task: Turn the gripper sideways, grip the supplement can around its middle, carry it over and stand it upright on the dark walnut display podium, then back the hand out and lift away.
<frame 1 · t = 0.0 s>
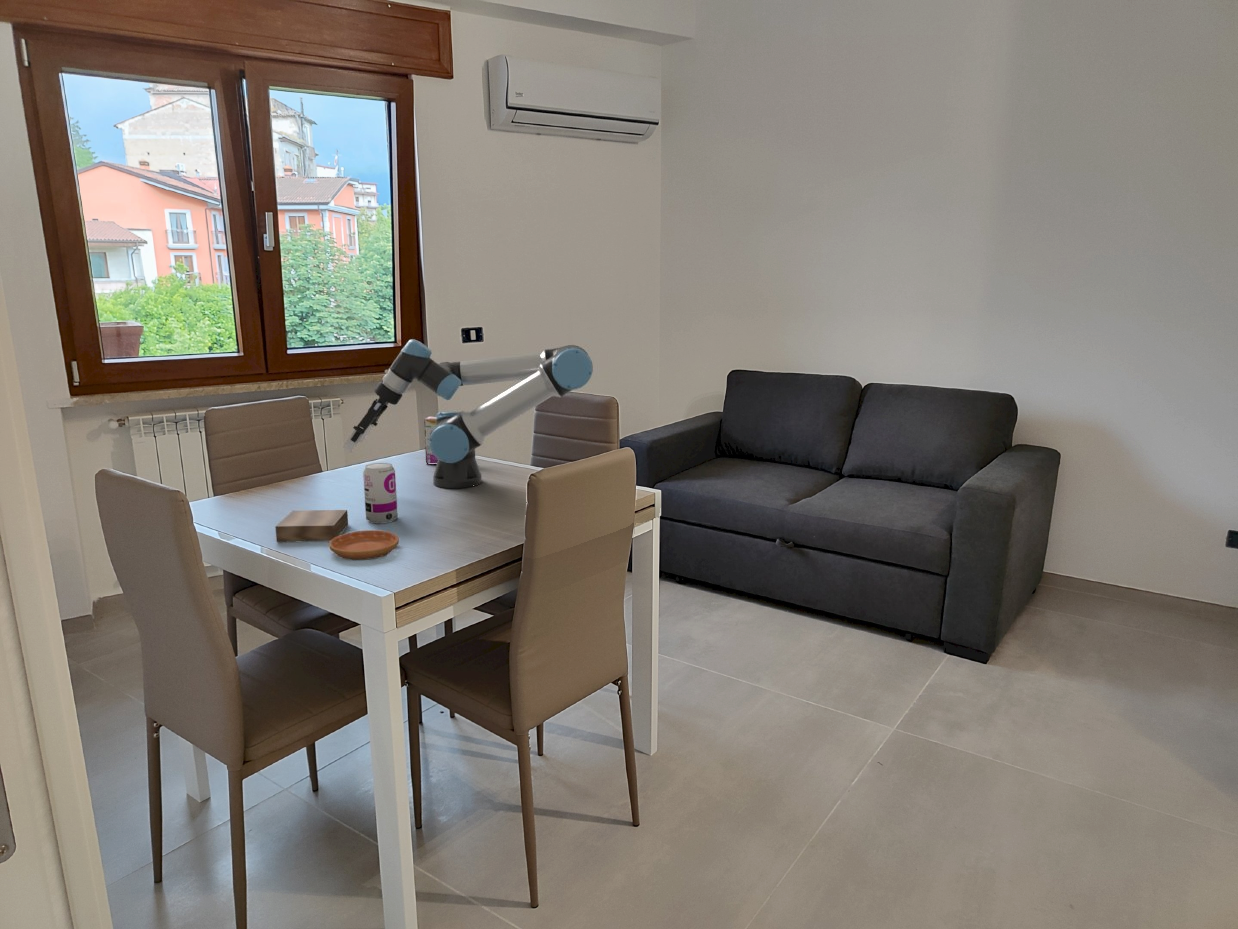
hand: (352, 445, 243), 15 cm above the table, tool tilted 35°, fingers open, 13 cm apart
candy bar box: (443, 464, 289), on the table
supplement can: (382, 520, 222), on the table
saucer: (365, 552, 197), on the table
podium: (313, 532, 210), on the table
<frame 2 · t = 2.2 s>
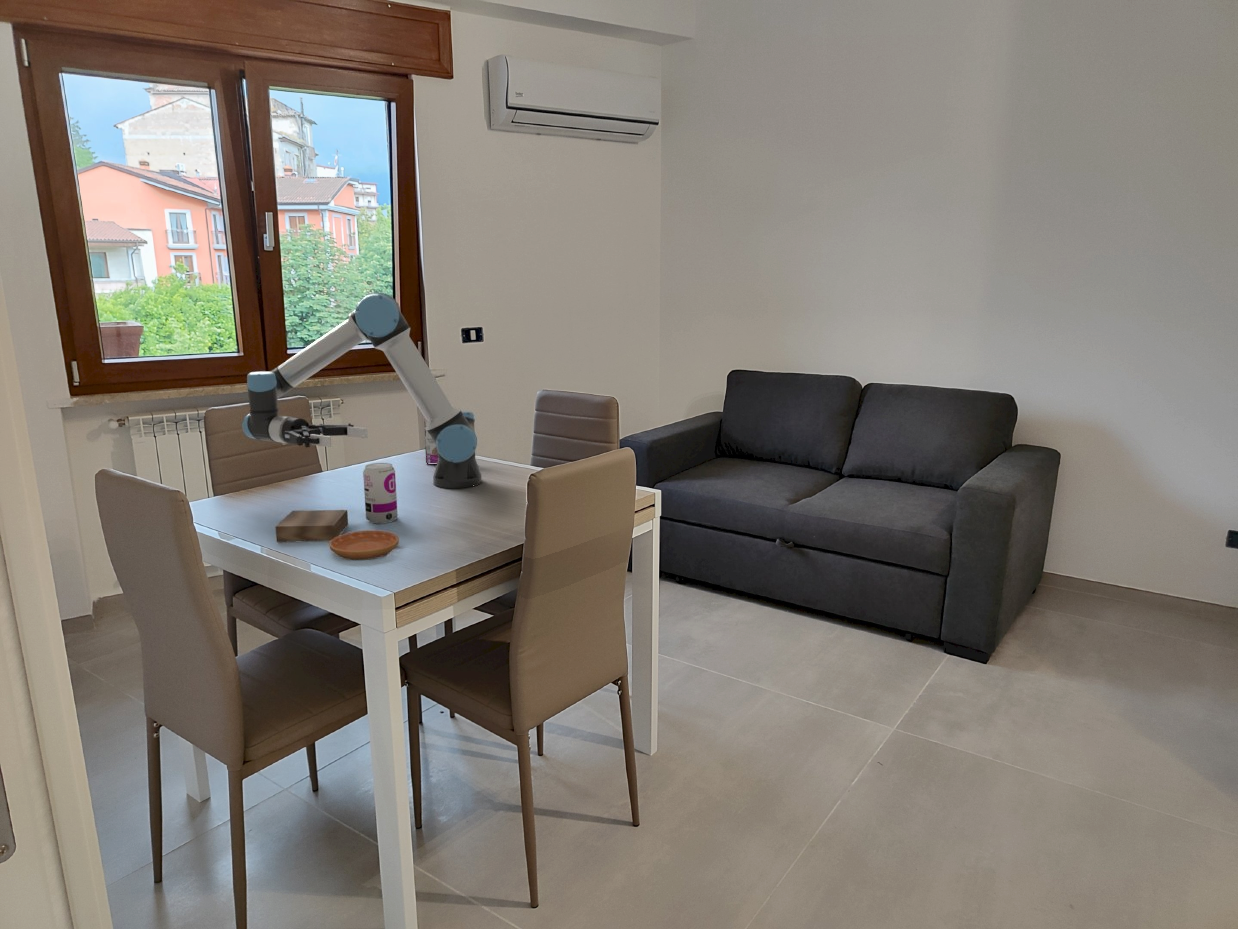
hand: (348, 437, 221), 22 cm above the table, tool horizontal, fingers open, 13 cm apart
nothing on the table moved.
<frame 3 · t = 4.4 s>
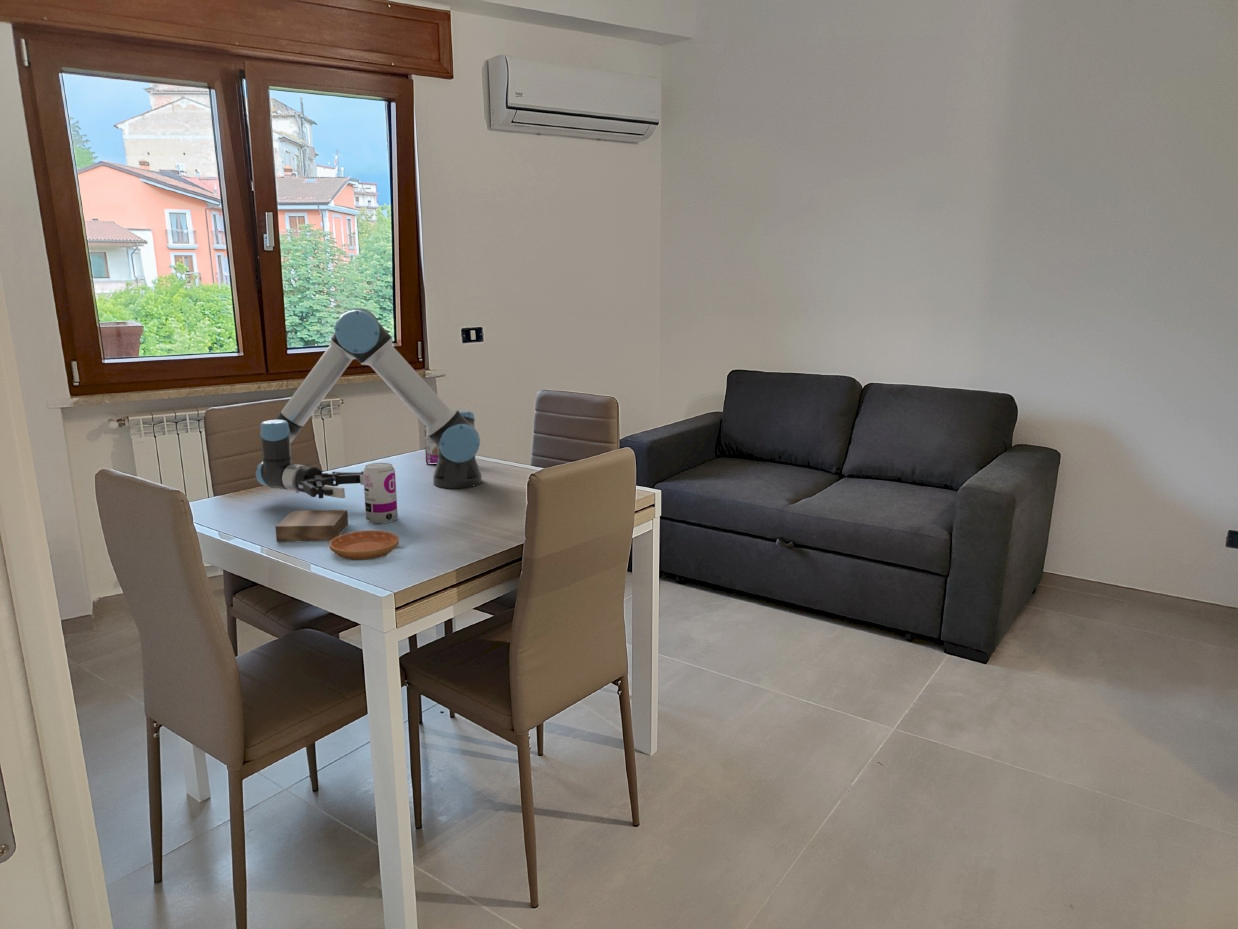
hand: (362, 487, 222), 8 cm above the table, tool horizontal, fingers open, 13 cm apart
nothing on the table moved.
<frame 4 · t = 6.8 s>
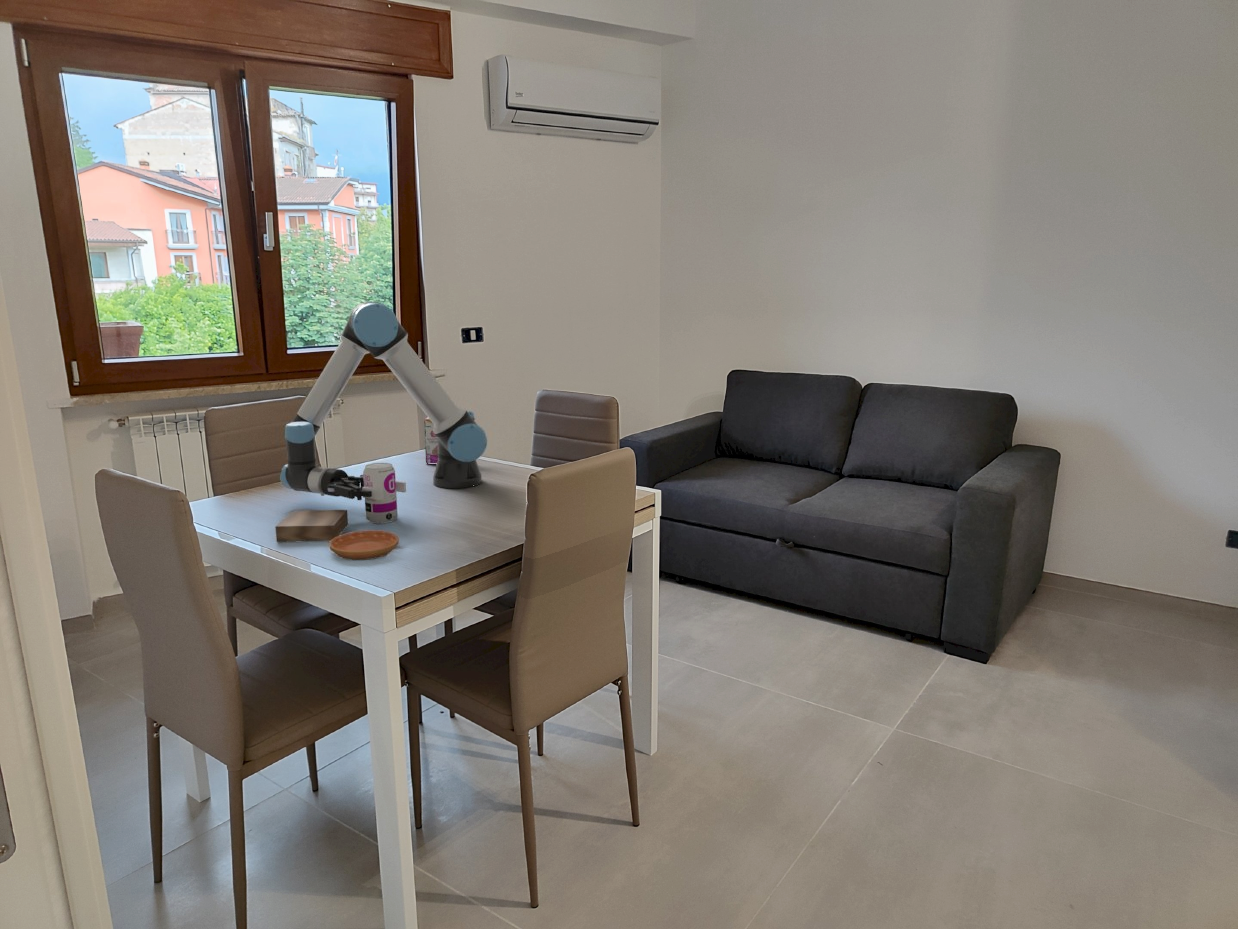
hand: (394, 491, 218), 9 cm above the table, tool horizontal, fingers closed on supplement can, 8 cm apart
supplement can: (381, 520, 222), on the table, touching gripper
everything else where it was.
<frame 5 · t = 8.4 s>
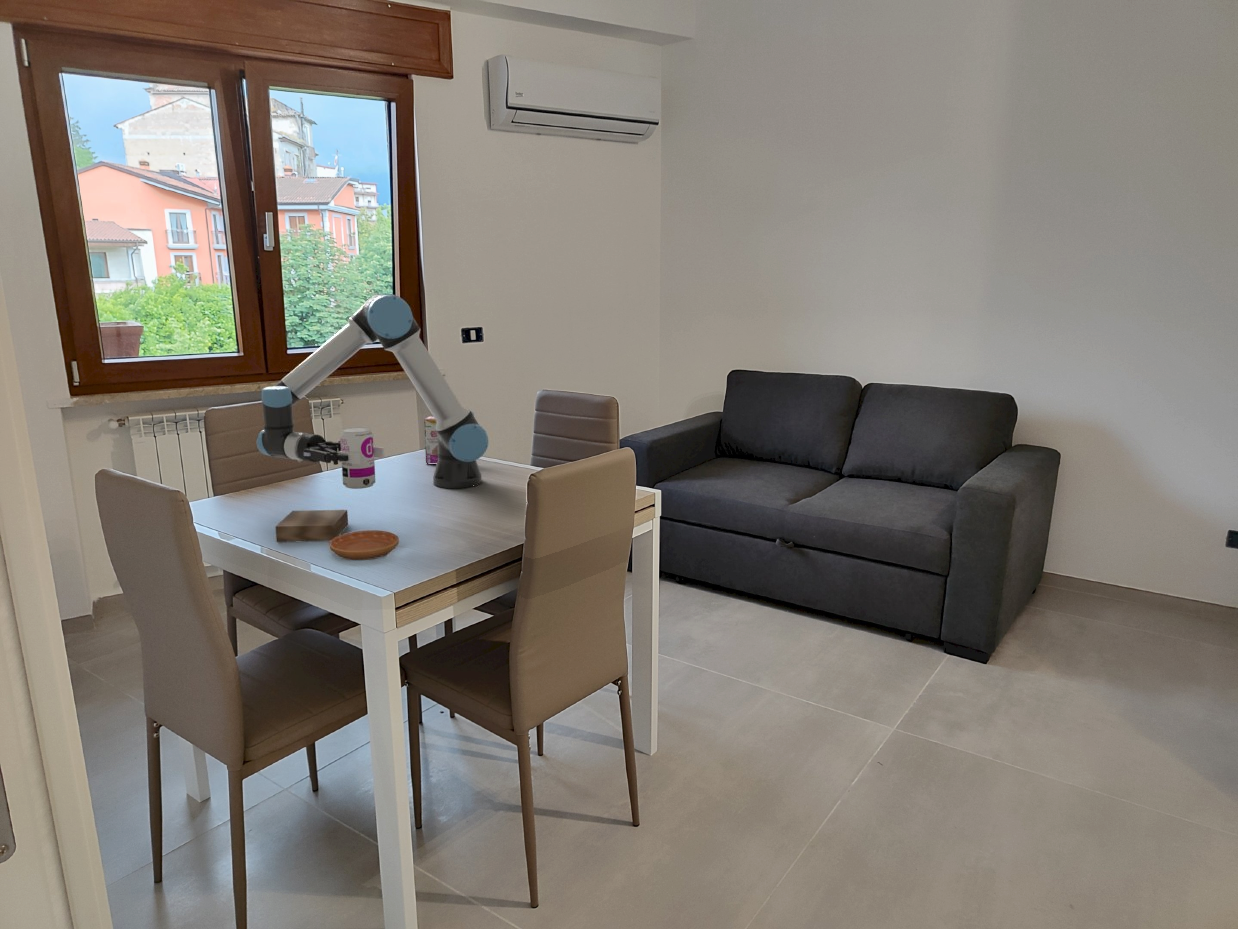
hand: (371, 455, 213), 19 cm above the table, tool horizontal, fingers closed on supplement can, 8 cm apart
supplement can: (359, 486, 217), point 10 cm above the table, touching gripper
everything else where it was.
when the fingers open (14 cm above the table, at t = 10.5 s): supplement can drops 1 cm, resting on podium.
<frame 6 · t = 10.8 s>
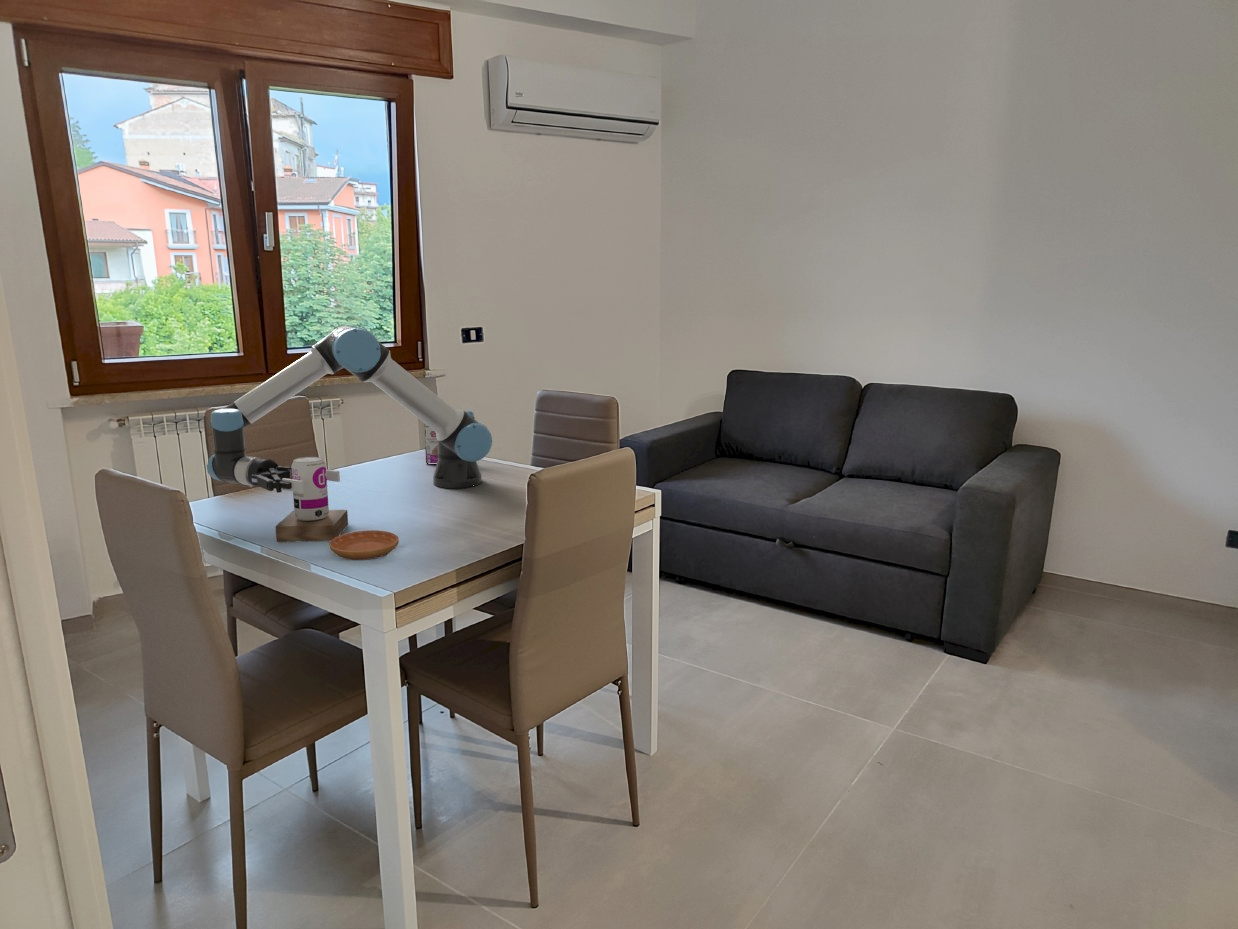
hand: (321, 481, 205), 14 cm above the table, tool horizontal, fingers open, 11 cm apart
supplement can: (312, 518, 209), point 4 cm above the table, touching podium
everything else where it was.
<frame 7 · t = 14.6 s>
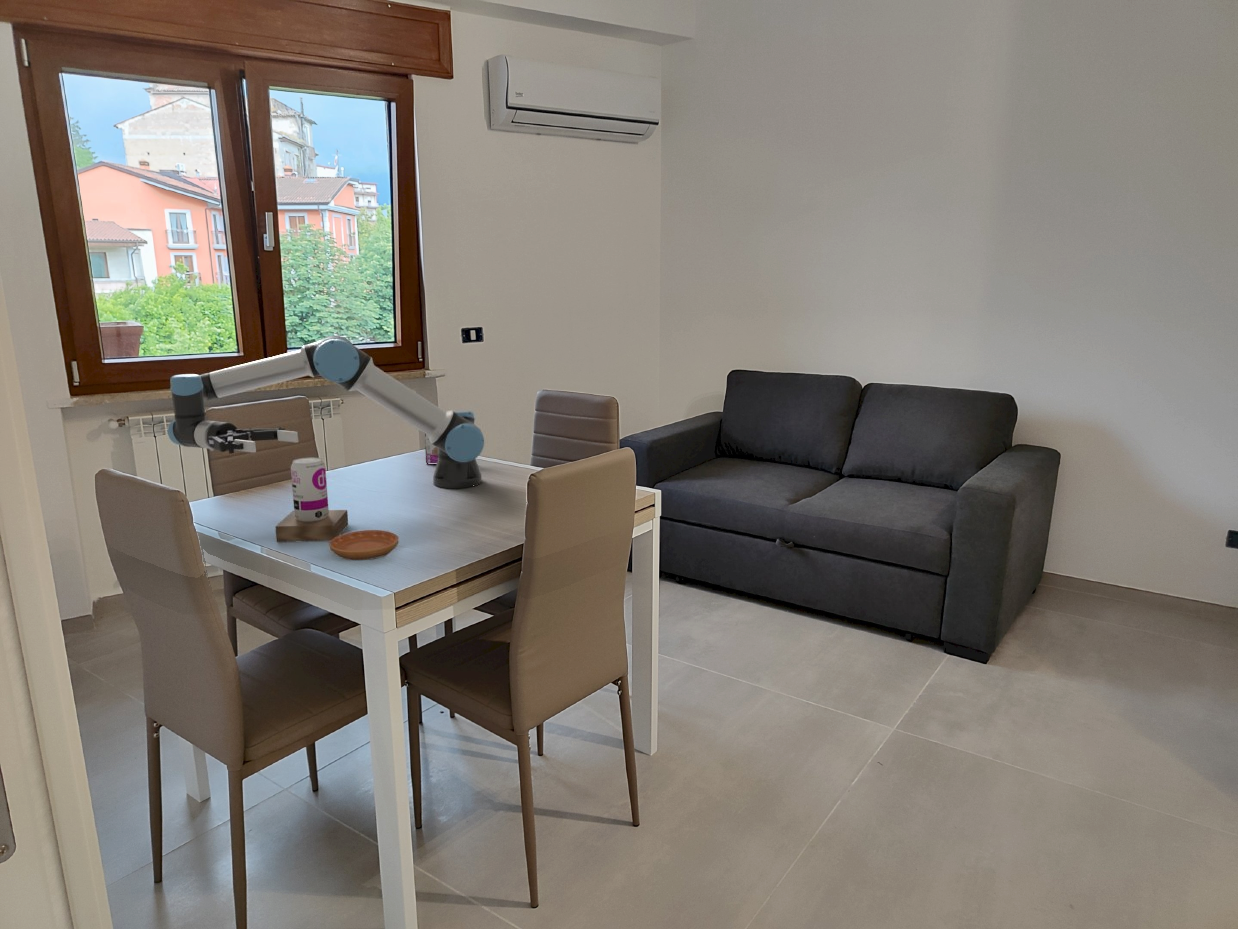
hand: (276, 441, 209), 23 cm above the table, tool horizontal, fingers open, 13 cm apart
nothing on the table moved.
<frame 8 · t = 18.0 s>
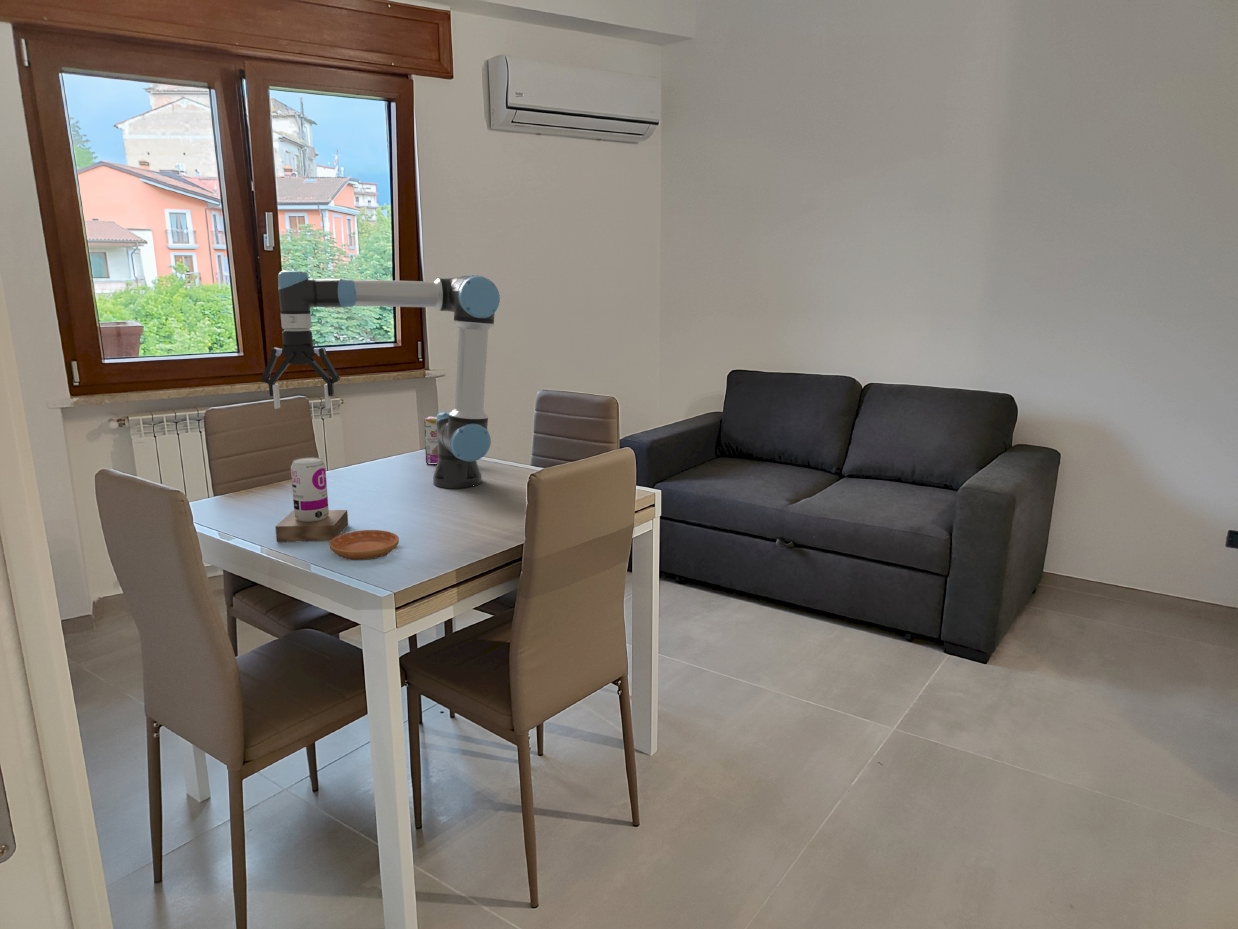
hand: (303, 408, 225), 29 cm above the table, tool pointing down, fingers open, 13 cm apart
nothing on the table moved.
at the end: supplement can inside the target area on the podium (0.1 cm from its centre), point 3.8 cm above the podium's base; supplement can tilted 0°; the gripper is holding nothing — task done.
